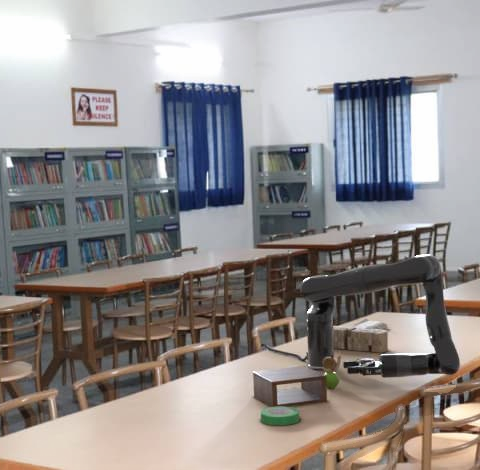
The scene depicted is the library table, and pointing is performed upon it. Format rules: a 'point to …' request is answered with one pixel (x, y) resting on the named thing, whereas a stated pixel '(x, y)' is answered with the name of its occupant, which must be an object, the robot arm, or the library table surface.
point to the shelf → (307, 394)
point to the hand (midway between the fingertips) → (345, 367)
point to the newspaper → (371, 325)
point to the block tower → (360, 339)
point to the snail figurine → (331, 370)
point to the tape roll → (280, 415)
